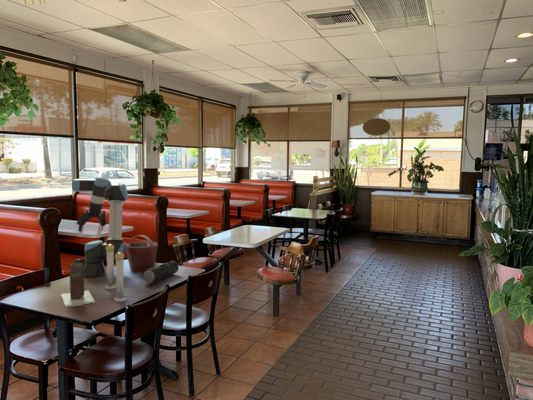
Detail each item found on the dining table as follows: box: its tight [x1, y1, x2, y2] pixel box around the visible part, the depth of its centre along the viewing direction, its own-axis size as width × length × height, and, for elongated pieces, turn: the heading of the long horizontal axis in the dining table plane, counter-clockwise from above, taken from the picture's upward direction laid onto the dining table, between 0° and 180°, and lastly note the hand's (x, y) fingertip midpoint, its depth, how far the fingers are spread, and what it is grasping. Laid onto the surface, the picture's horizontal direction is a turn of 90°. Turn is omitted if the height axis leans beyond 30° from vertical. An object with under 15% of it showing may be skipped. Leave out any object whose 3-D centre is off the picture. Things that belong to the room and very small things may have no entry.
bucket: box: [125, 234, 159, 273], centre depth 309 cm, size 24×22×25 cm
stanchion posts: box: [104, 244, 128, 303], centre depth 252 cm, size 7×33×28 cm, turn 32°
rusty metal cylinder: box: [69, 262, 85, 299], centre depth 241 cm, size 8×7×20 cm
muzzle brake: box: [142, 260, 179, 284], centre depth 284 cm, size 10×28×10 cm, turn 158°
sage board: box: [60, 290, 96, 308], centre depth 242 cm, size 15×22×1 cm
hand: (89, 235), depth 257 cm, fingers open, 13 cm apart
